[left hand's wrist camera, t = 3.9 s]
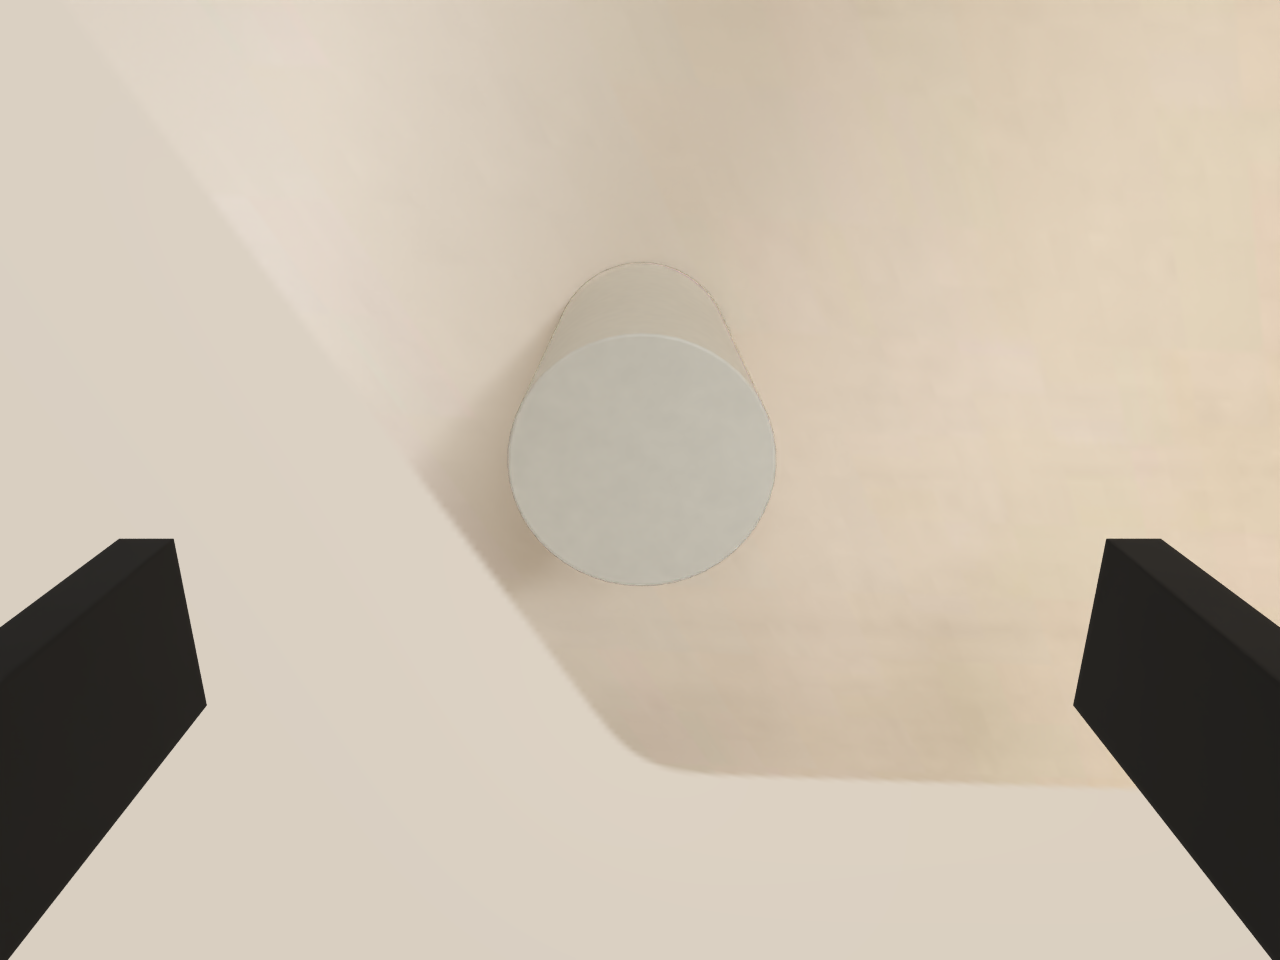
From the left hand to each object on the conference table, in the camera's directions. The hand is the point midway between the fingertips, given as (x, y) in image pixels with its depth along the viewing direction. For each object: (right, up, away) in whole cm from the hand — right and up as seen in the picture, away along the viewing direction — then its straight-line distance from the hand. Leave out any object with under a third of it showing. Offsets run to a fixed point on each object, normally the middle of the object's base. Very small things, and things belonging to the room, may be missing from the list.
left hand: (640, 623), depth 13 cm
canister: (0, +6, +16) cm, 17 cm away
